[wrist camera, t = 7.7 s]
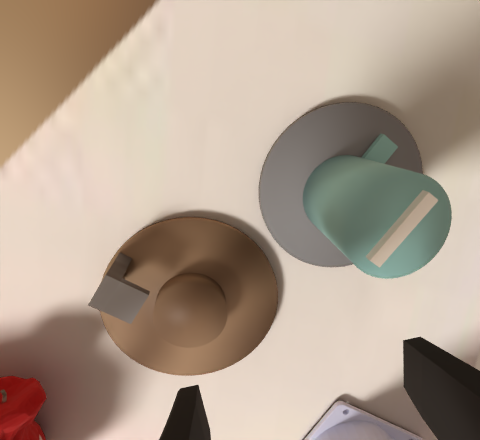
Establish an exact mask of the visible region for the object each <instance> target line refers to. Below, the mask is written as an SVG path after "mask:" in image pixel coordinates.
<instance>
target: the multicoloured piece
mask: <svg viewBox="0 0 480 440" xmlns="http://www.w3.org/2000/svg"><path fill="white" fill-rule="evenodd" d="M46 399H47V398H46V393H45V391H44V389H43V388H42V386H41V384H40V382H39V381H38V380H36V379H35V378H29V379H23V378H19V377H15V376H7V377H2V378H0V440H46V439H45V436H44V433H43V431H42V429H41V427H40V426H39V424H37V423H36V422H35V421H34V419H35V417H36V415H37V414H38V412H39V410H40V408H41V407H42V405H43V403H44V402H45V400H46Z"/></svg>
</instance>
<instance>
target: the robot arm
mask: <svg viewBox="0 0 480 440" xmlns="http://www.w3.org/2000/svg"><path fill="white" fill-rule="evenodd" d="M403 354H404V388H405V389H406V391H407V393H408V395H409V396H410V398H411V400H412V402H413V403H414V405H415V407H416V408H417V410H418V412H419V413H420V415H421V417H422V418H423V419H424V421H425V422H426V424H427V425H428V426H429V428H430V429H431V430H432V432H433V433H434V434H435V436H436V437H437V439H438V440H480V371H479V370H477V369H475V368H474V367H472V366H470V365H468V364H467V363H465V362H463V361H461V360H460V359H458V358H456V357H455V356H453V355H451V354H449V353H448V352H446V351H444V350H443V349H441V348H439V347H437V346H436V345H434V344H432V343H430V342H429V341H427V340H425V339H423V338H421V337H417V338H412V339H408V340H403ZM159 440H211V437H210V428H209V424H208V420H207V416H206V413H205V409H204V405H203V401H202V397H201V394H200V390H199V386H198V385H195V386H190V387H186V388H181V389H180V390H179V391H178V393H177V396H176V399H175V402H174V404H173V407H172V410H171V412H170V415H169V418H168V420H167V423H166V425H165V428H164V430H163V432H162V435H161V437H160V439H159ZM304 440H423V439H422V438H421V437H419V436H417V435H415V434H413V433H411V432H409V431H406V430H404V429H402V428H400V427H398V426H396V425H393V424H391V423H389V422H387V421H385V420H383V419H380V418H378V417H376V416H374V415H372V414H370V413H367V412H365V411H363V410H361V409H359V408H356V407H354V406H352V405H350V404H348V403H346V402H343V401H337V402H336V403H334V405H333V406H332V407H331V408H330V409H329V411H328V412H327V413H326V414H325V415H324V417H323V418H322V419H321V420H320V421H319V422H318V424H317V425H316V426H315V427H314V428H313V430H312V431H311V432H310V433H309V434H308V436H307V437H306V438H305V439H304Z"/></svg>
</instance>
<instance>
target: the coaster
mask: <svg viewBox="0 0 480 440" xmlns="http://www.w3.org/2000/svg"><path fill="white" fill-rule="evenodd" d="M380 134H384V135H385V136H387V137H388V138H389V139H390V140H391V141H392V142H393V143H394V144H396V145H397V146H398V148H397V149H396V150H395V152H394V153H393V154H392V155H391V156H390V158H389V159H388V160H387V161H386V163H385V164H387V165H391V166H394V167H398V168H402V169H406V170H410V171H413V172H417V173H421V174H422V162H421V158H420V153H419V150H418V148H417V145H416V143H415V141H414V139H413V137H412V135H411V134H410V132H409V131H408V130H407V128H406V127H405V126H404V125H403V124H402V123H401V122H400V121H399V120H398V119H397V118H396V117H394V116H393V115H391V114H390V113H388V112H387V111H385V110H383V109H380V108H378V107H375V106H372V105H368V104H363V103H338V104H331V105H327V106H324V107H320V108H317V109H315V110H313V111H311V112H309V113H307V114H305V115H303V116H302V117H300V118H299V119H297V120H296V121H295V122H293V123H292V124H291V125H290V126H289V127H287V129H286V130H285V131H284V132H283V133H282V134H281V135H280V136H279V137H278V139H277V140H276V142H275V143H274V144H273V146H272V148H271V149H270V151H269V153H268V155H267V157H266V160H265V162H264V165H263V168H262V172H261V176H260V182H259V202H260V209H261V212H262V216H263V219H264V221H265V223H266V226H267V228H268V230H269V231H270V233H271V234H272V236H273V238H274V239H275V240H276V241H277V243H278V244H279V245H280V246H281V247H282V248H283V249H284V250H285V251H286V252H288V253H289V254H291V255H292V256H293V257H295V258H297V259H299V260H301V261H303V262H306V263H309V264H312V265H316V266H322V267H342V266H348V265H352V264H353V263H352V262H351V261H350V260H349V259H348V258H347V257H346V256H345V255H344V254H343V253H342V252H341V251H340V250H339V249H338V248H337V247H336V246H335V245H334V244H333V243H332V242H331V241H330V240H329V239H328V238H327V237H326V236H325V235H324V234H323V233H322V232H321V231H320V230H319V229H318V228H317V227H316V226H315V225H314V224H313V223H312V222H311V221H310V220H309V218H308V217H307V215H306V213H305V210H304V206H303V191H304V187H305V184H306V182H307V180H308V178H309V176H310V175H311V173H312V172H313V171H314V170H315V168H316V167H318V166H319V165H320V164H321V163H323V162H324V161H326V160H328V159H330V158H332V157H335V156H340V155H352V156H357V157H362V156H363V155H364V153H365V152H366V151H367V150H368V148H369V147H370V146H371V145H372V143H373V142H374V141H375V140H376V138H377V137H378V136H379V135H380Z"/></svg>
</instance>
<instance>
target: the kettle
mask: <svg viewBox="0 0 480 440" xmlns="http://www.w3.org/2000/svg"><path fill="white" fill-rule="evenodd" d="M397 148H398V146H397V145H396V144H394V143H393V142H392V141H391V140H390V139H389V138H388V137H387V136H385V135H384V134H380V135H379V136H378V137H377V138H376V140H375V141H374V142H373V143H372V145H371V146H370V147H369V148H368V150H367V151H366V152H365V153H364V155H363V156H362V157H357V156H352V155H340V156H335V157H332V158H330V159H328V160H326V161H324V162H323V163H321V164H320V165H319V166H318V167H316V168H315V170H314V171H313V172H312V173H311V175H310V176H309V178H308V180H307V182H306V184H305V187H304V191H303V206H304V210H305V213H306V215H307V217H308V218H309V220H310V221H311V222H312V223H313V224H314V225H315V226H316V227H317V228H318V229H319V230H320V231H321V232H322V233H323V234H324V235H325V236H326V237H327V238H328V239H329V240H330V241H331V242H332V243H333V244H334V245H335V246H336V247H337V248H338V249H339V250H340V251H341V252H342V253H343V254H344V255H345V256H346V257H347V258H348V259H349V260H350V261H351V262H352V263H353V264H354V265H355V266H356V267H357V268H359V269H360V270H361V271H363V272H364V273H366V274H368V275H371V276H373V277H377V278H398V277H402V276H406V275H408V274H411V273H413V272H415V271H417V270H419V269H420V268H422V267H423V266H425V265H426V264H427V263H428V262H430V261H431V260H432V259H433V258H434V257H435V255H436V254H437V253H438V252H439V250H440V249H441V247H442V246H443V244H444V242H445V240H446V238H447V236H448V233H449V230H450V226H451V218H452V217H451V205H450V201H449V198H448V196H447V194H446V192H445V191H444V189H443V188H442V187H441V185H440V184H439V183H438V182H436V181H435V180H434V179H432V178H430V177H428V176H427V175H424V174H421V173H417V172H413V171H410V170H406V169H402V168H398V167H394V166H391V165H387V164H385V163H386V161H387V160H388V159H389V158H390V156H391V155H392V154H393V153H394V152H395V150H396V149H397Z"/></svg>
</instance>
